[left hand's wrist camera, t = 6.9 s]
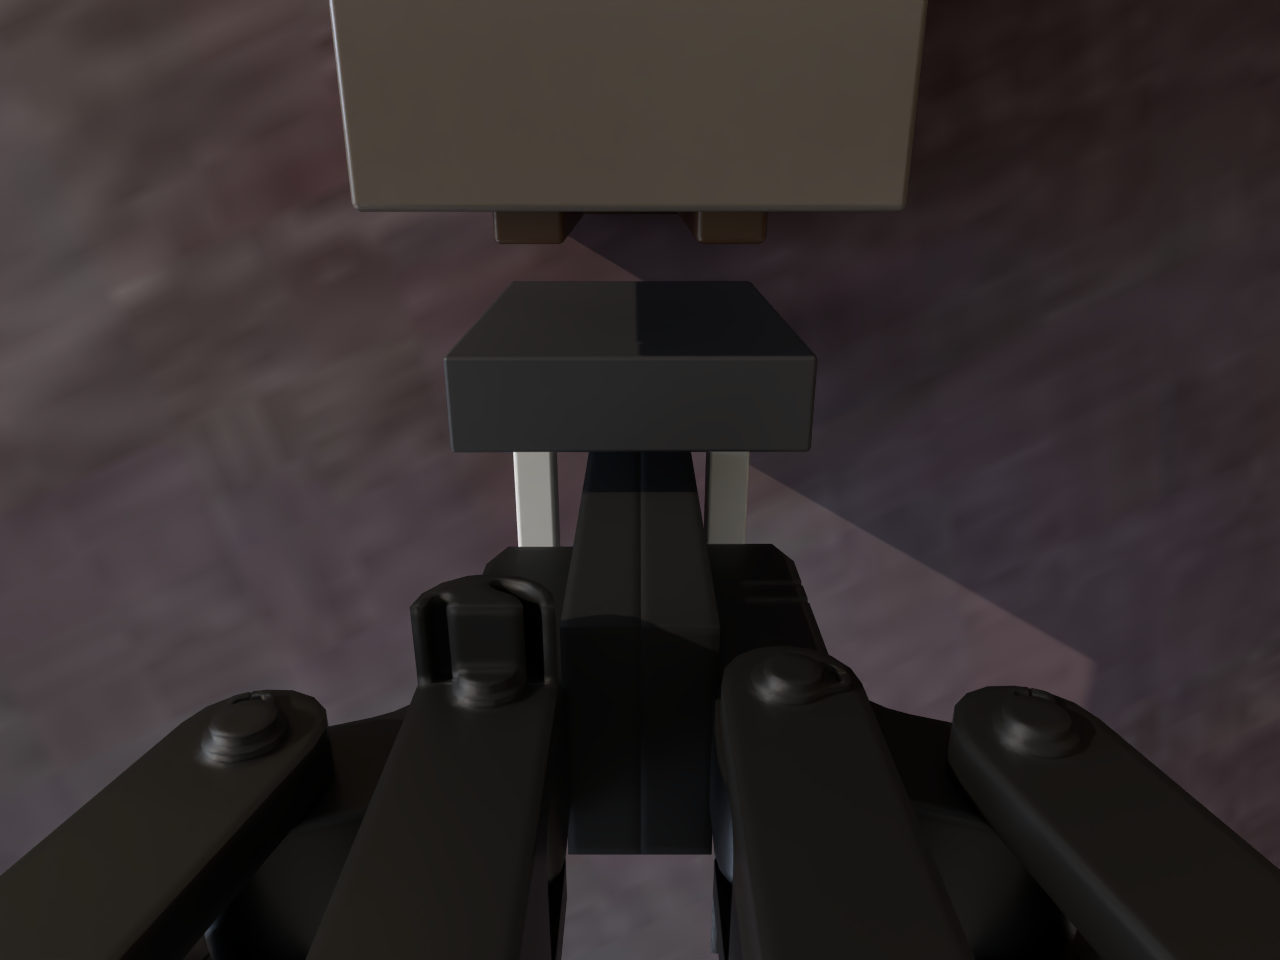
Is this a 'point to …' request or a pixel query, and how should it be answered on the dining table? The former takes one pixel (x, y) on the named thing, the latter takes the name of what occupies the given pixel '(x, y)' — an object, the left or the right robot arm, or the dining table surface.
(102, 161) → the dining table surface
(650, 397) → the drawer
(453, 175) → the cabinet
